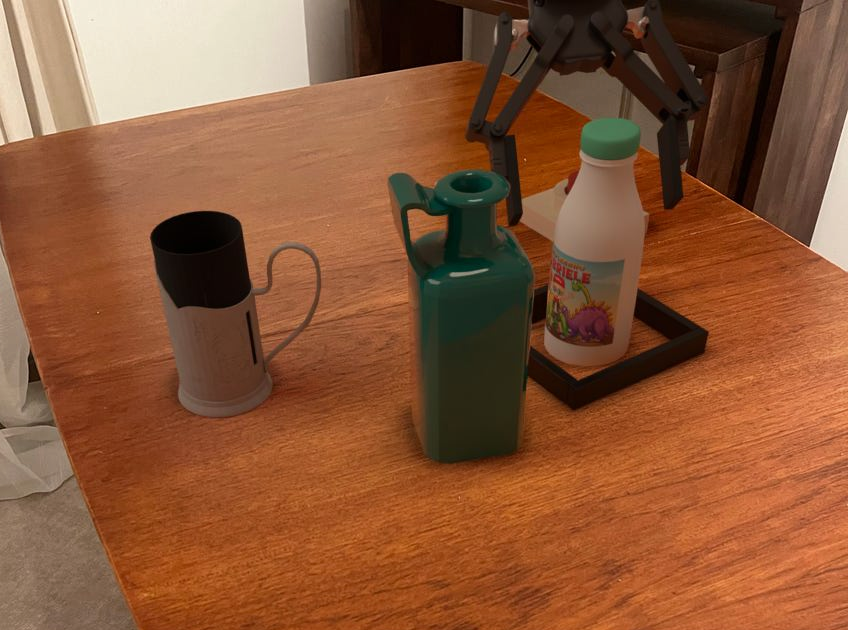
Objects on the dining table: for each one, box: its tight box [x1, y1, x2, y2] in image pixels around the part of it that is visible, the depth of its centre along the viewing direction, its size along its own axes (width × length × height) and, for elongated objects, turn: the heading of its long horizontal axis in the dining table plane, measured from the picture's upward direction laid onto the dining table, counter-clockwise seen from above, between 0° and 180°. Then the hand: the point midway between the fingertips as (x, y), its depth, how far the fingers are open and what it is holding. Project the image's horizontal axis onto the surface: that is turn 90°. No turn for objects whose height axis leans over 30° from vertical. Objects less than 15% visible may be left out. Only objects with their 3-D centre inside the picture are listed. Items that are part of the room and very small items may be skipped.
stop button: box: [567, 169, 580, 195], centre depth 107 cm, size 4×4×2 cm
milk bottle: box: [543, 117, 646, 367], centre depth 87 cm, size 8×8×20 cm
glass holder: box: [149, 210, 322, 418], centre depth 88 cm, size 9×14×15 cm, turn 88°
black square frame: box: [528, 283, 710, 411], centre depth 93 cm, size 15×15×3 cm
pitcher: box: [387, 168, 536, 464], centre depth 78 cm, size 10×8×22 cm
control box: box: [519, 178, 650, 242], centre depth 109 cm, size 11×9×4 cm
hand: (594, 212), depth 86 cm, fingers open, 13 cm apart
